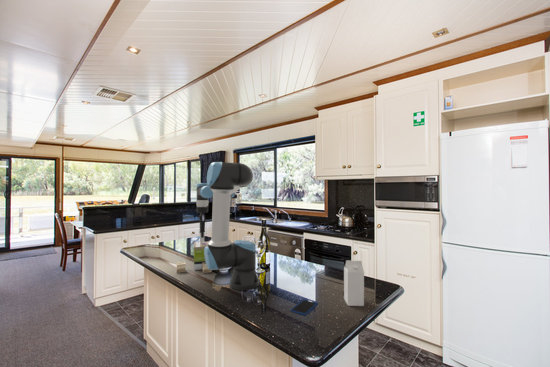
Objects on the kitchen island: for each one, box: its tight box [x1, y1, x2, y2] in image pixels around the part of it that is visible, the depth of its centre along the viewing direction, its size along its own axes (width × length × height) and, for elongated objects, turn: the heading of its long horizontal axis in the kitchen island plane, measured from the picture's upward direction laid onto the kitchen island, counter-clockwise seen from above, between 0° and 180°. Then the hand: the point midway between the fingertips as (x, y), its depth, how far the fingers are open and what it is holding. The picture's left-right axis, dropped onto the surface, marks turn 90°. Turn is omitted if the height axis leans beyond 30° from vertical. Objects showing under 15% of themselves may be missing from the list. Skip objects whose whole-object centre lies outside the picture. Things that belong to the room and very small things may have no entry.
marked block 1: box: [176, 261, 186, 274], centre depth 159 cm, size 5×5×5 cm
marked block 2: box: [201, 262, 213, 274], centre depth 159 cm, size 5×5×5 cm
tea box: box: [193, 240, 210, 271], centre depth 169 cm, size 15×10×15 cm
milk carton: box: [343, 260, 365, 307], centre depth 117 cm, size 7×7×19 cm
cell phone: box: [290, 298, 319, 316], centre depth 112 cm, size 7×14×1 cm, turn 148°
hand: (202, 242), depth 169 cm, fingers closed
